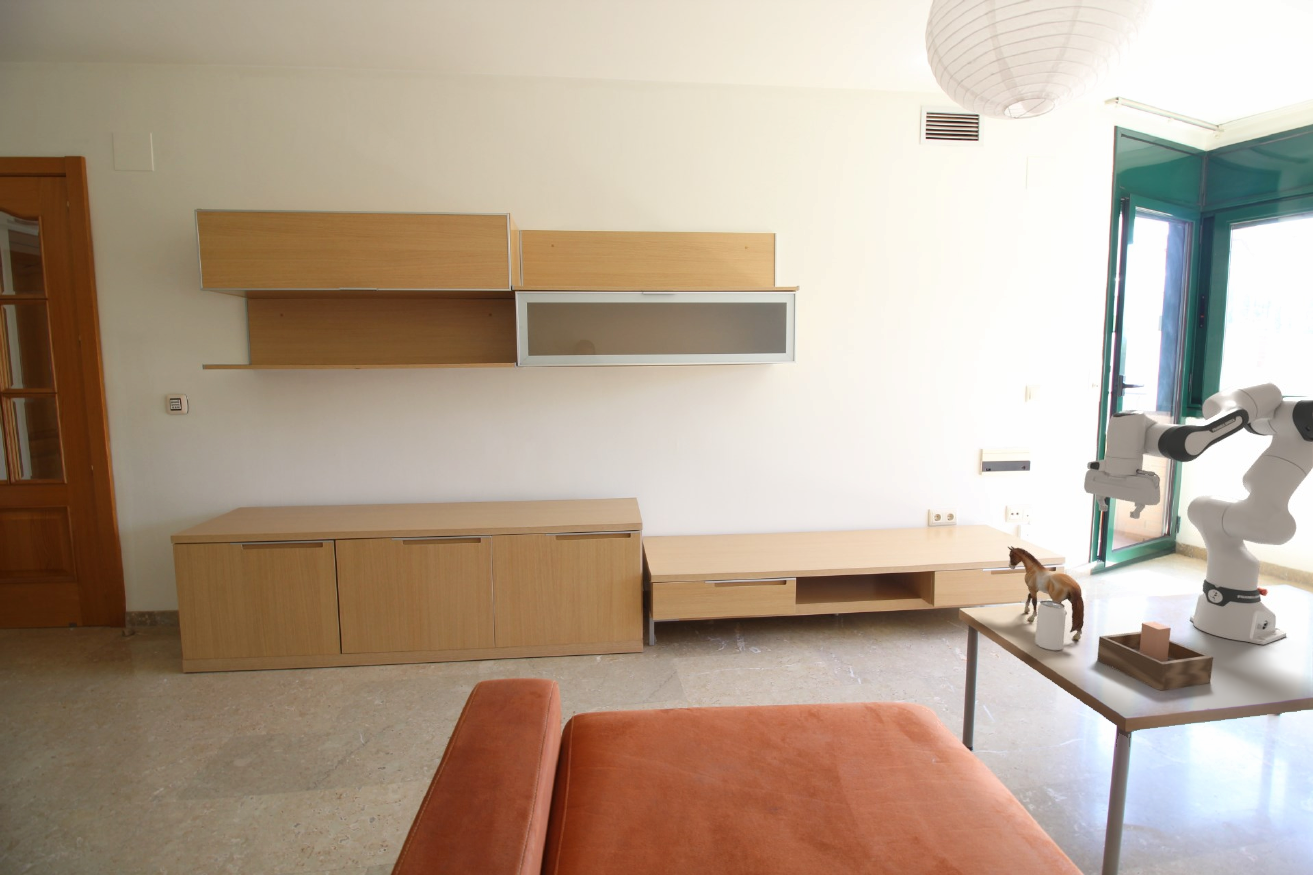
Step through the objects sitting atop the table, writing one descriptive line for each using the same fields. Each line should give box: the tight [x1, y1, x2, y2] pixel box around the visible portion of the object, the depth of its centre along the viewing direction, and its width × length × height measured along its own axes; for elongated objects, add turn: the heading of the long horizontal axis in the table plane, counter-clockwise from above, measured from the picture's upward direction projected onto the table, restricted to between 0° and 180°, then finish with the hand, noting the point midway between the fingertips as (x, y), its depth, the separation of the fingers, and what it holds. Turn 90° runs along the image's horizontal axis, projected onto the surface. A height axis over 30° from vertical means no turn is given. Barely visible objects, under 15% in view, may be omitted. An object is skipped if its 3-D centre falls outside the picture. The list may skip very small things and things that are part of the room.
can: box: [1034, 599, 1067, 652], centre depth 172 cm, size 6×6×12 cm
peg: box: [1139, 621, 1171, 662], centre depth 158 cm, size 4×4×12 cm
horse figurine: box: [1007, 546, 1085, 640], centre depth 184 cm, size 31×8×21 cm, turn 5°
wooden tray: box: [1096, 631, 1214, 691], centre depth 158 cm, size 16×16×6 cm
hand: (1118, 514), depth 182 cm, fingers open, 8 cm apart
